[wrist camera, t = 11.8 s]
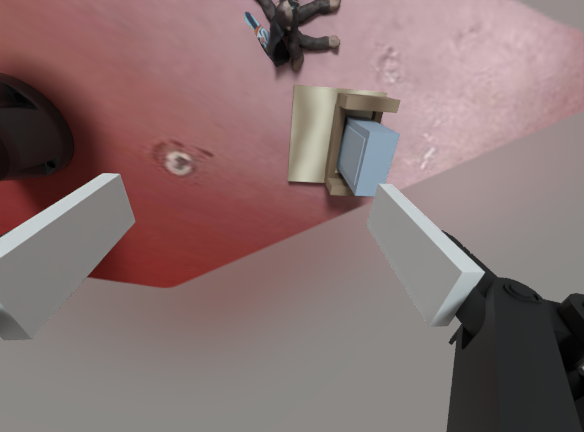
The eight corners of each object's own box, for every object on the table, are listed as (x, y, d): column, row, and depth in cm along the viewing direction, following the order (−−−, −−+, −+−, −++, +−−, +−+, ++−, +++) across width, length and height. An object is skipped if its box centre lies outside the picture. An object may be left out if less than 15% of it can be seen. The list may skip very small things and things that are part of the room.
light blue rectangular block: (344, 115, 37) (369, 131, 27) (367, 117, 37) (400, 134, 27) (335, 164, 41) (354, 195, 31) (356, 165, 41) (381, 196, 31)
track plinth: (287, 177, 43) (288, 195, 37) (293, 84, 36) (297, 87, 29) (361, 181, 44) (375, 199, 38) (383, 92, 37) (405, 96, 30)
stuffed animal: (335, 75, 35) (265, 67, 28) (294, 70, 41) (229, 62, 34) (355, -38, 28) (271, -83, 22) (303, -24, 35) (226, -55, 28)
